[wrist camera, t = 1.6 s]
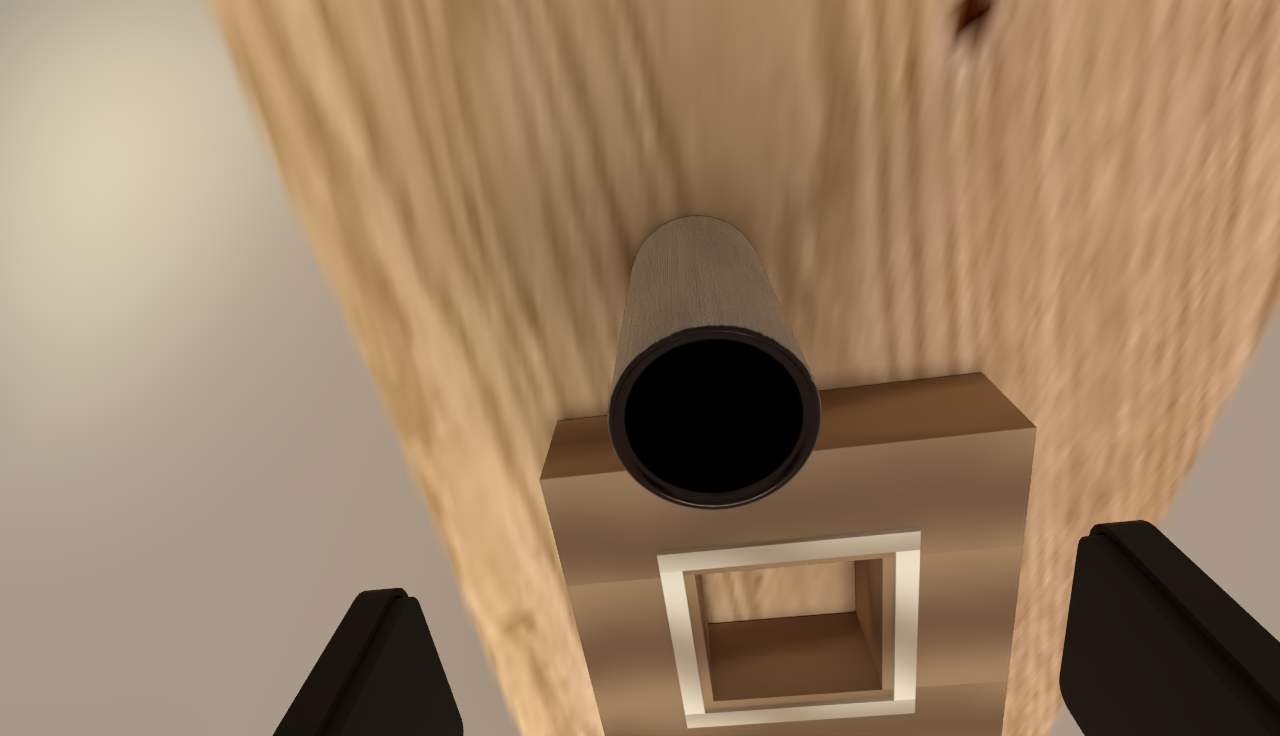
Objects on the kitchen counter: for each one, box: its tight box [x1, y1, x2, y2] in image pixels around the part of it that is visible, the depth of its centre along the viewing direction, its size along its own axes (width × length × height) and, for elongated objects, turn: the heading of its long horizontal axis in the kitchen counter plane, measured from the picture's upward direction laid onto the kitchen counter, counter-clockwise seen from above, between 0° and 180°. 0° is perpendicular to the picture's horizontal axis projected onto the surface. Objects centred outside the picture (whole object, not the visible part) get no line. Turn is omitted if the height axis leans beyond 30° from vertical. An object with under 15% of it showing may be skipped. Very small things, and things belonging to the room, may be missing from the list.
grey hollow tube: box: [608, 216, 821, 510], centre depth 19 cm, size 4×4×10 cm
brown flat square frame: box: [540, 373, 1037, 736], centre depth 27 cm, size 16×16×4 cm
